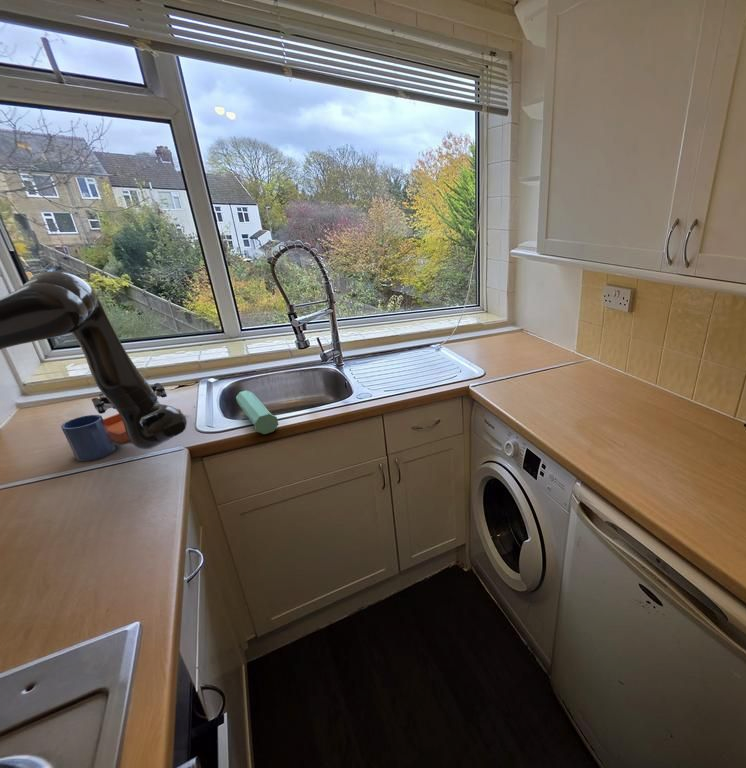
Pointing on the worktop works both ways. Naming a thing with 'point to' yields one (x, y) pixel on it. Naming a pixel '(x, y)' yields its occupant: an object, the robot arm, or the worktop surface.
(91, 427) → the blue cup
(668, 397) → the worktop surface
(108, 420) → the terracotta tray
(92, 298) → the robot arm
